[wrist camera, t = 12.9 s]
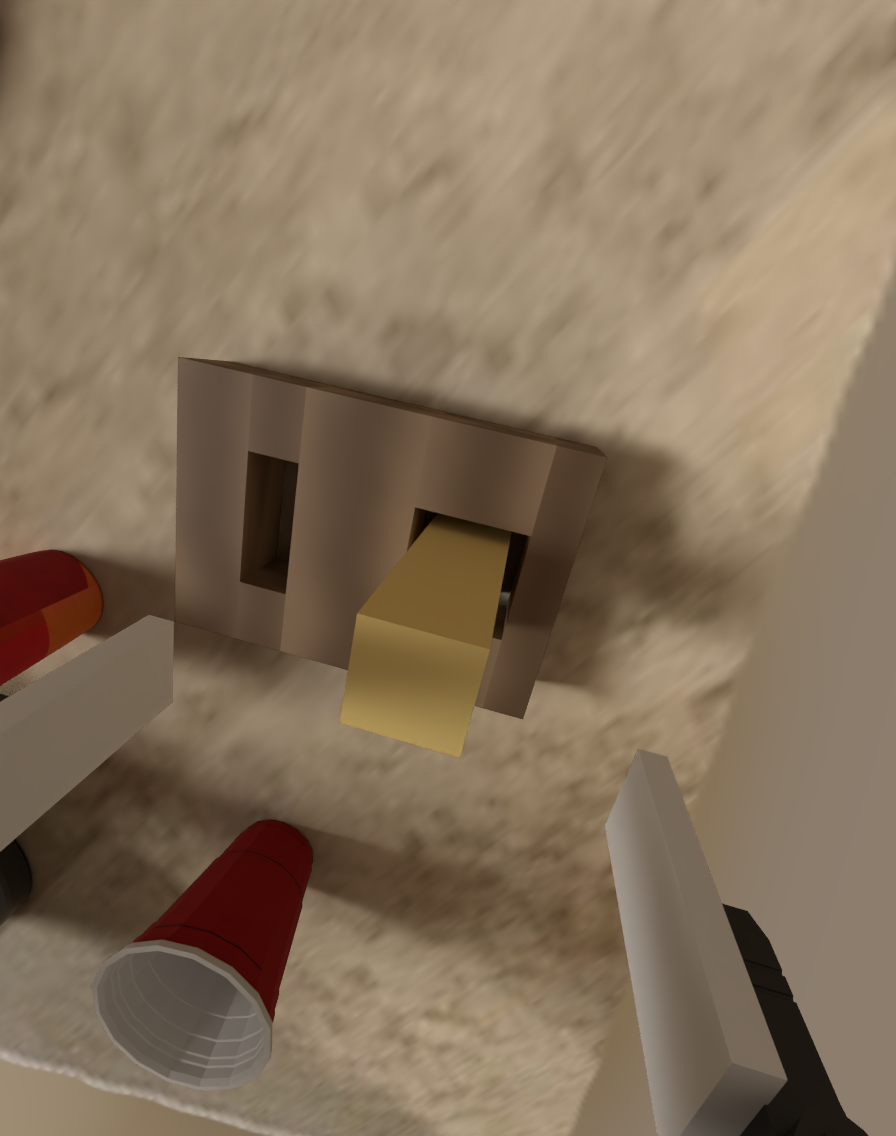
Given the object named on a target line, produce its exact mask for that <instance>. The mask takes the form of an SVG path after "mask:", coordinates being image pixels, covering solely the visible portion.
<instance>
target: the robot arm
mask: <svg viewBox="0 0 896 1136" xmlns="http://www.w3.org/2000/svg"><path fill="white" fill-rule="evenodd" d="M173 649H174V622H173V621H170V620H166V619H162V618H159V617H155V616H152V615H147V616H146V617H144V618H142V619H141V620H139V621H137V622H136V623H134V624H132V625H130V626H129V627H127V628H125V629H124V630H122V631H120V632H118V633H117V634H115V635H113V636H112V637H110V638H108V639H107V640H105V641H103V642H101V643H100V644H98V645H96V646H95V647H93V648H91V649H89V650H88V651H86V652H84V653H83V654H81V655H79V656H78V657H76V658H74V659H72V660H71V661H69V662H67V663H66V664H64V665H62V666H60V667H59V668H57V669H55V670H54V671H52V672H50V673H48V674H47V675H45V676H43V677H42V678H40V679H38V680H37V681H35V682H33V683H31V684H30V685H28V686H26V687H25V688H23V689H21V690H19V691H18V692H16V693H14V694H13V695H11V696H6V695H3V694H0V926H1V925H2V924H3V923H4V922H5V921H6V920H7V919H8V918H9V917H10V916H11V915H12V914H13V913H14V912H15V911H16V910H17V909H18V908H19V907H20V906H21V905H22V904H23V903H24V902H25V901H26V899H27V897H28V895H29V892H30V886H31V880H30V873H29V869H28V866H27V863H26V861H25V859H24V857H23V855H22V853H21V851H20V850H19V848H18V846H17V845H16V843H15V842H14V841H13V840H14V839H15V838H17V837H18V836H19V835H20V834H21V833H22V832H23V831H25V830H26V829H27V828H28V827H29V826H30V825H32V824H33V823H34V822H35V821H36V820H37V819H38V818H40V817H41V816H42V815H43V814H44V813H45V812H46V811H48V810H49V809H50V808H51V807H52V806H53V805H55V804H56V803H57V802H58V801H59V800H60V799H61V798H63V797H64V796H65V795H66V794H67V793H68V792H70V791H71V790H72V789H73V788H74V787H75V786H76V785H78V784H79V783H80V782H81V781H82V780H83V779H84V778H86V777H87V776H88V775H89V774H90V773H91V772H93V771H94V770H95V769H96V768H97V767H98V766H99V765H101V764H102V763H103V762H104V761H105V760H106V759H108V758H109V757H110V756H111V755H112V754H113V753H114V752H116V751H117V750H118V749H119V748H120V747H121V746H122V745H124V744H125V743H126V742H127V741H128V740H129V739H131V738H132V737H133V736H134V735H135V734H136V733H137V732H139V731H140V730H141V729H142V728H143V727H144V726H146V725H147V724H148V723H149V722H150V721H151V720H152V719H154V718H155V717H156V716H157V715H158V714H159V713H160V712H162V711H163V710H164V709H165V708H166V707H167V706H169V705H170V704H171V703H172V702H173ZM605 830H606V835H607V841H608V847H609V853H610V859H611V865H612V871H613V877H614V882H615V888H616V894H617V900H618V906H619V912H620V918H621V924H622V930H623V935H624V941H625V947H626V953H627V959H628V965H629V971H630V977H631V982H632V988H633V994H634V1000H635V1005H636V1011H637V1018H638V1023H639V1029H640V1035H641V1041H642V1047H643V1053H644V1059H645V1064H646V1071H647V1076H648V1082H649V1088H650V1093H651V1100H652V1105H653V1111H654V1117H655V1124H656V1129H657V1135H658V1136H868V1135H867V1134H866V1133H865V1131H864V1130H862V1129H861V1128H860V1127H858V1126H857V1125H856V1124H855V1123H854V1122H852V1121H851V1120H850V1119H848V1118H847V1117H846V1114H845V1112H844V1111H843V1109H842V1107H841V1105H840V1103H839V1101H838V1098H837V1096H836V1094H835V1091H834V1089H833V1087H832V1084H831V1082H830V1080H829V1077H828V1075H827V1073H826V1070H825V1068H824V1066H823V1063H822V1061H821V1059H820V1057H819V1054H818V1052H817V1050H816V1047H815V1045H814V1043H813V1040H812V1038H811V1036H810V1034H809V1031H808V1029H807V1027H806V1024H805V1022H804V1020H803V1017H802V1015H801V1013H800V1010H799V1008H798V1006H797V1003H795V1002H793V994H792V992H791V990H790V987H789V985H788V983H787V980H786V978H785V977H784V976H782V969H781V967H780V964H779V962H778V960H777V957H776V955H775V953H774V950H773V948H772V946H771V944H770V941H769V939H768V938H767V937H766V935H765V934H764V933H763V931H762V930H761V929H760V927H759V926H758V925H757V924H756V922H755V921H754V919H753V918H752V917H751V915H750V914H749V913H748V911H745V910H742V909H738V908H735V907H732V906H728V905H725V904H722V902H721V900H720V897H719V894H718V892H717V889H716V886H715V884H714V881H713V878H712V876H711V873H710V870H709V868H708V865H707V862H706V860H705V857H704V854H703V851H702V849H701V846H700V844H699V841H698V838H697V835H696V833H695V830H694V827H693V825H692V822H691V819H690V817H689V814H688V811H687V809H686V806H685V803H684V800H683V798H682V795H681V792H680V790H679V787H678V784H677V782H676V779H675V776H674V774H673V771H672V768H671V766H670V763H669V760H668V758H667V757H666V756H662V755H659V754H655V753H651V752H648V751H644V750H640V749H638V750H637V753H636V755H635V757H634V760H633V762H632V764H631V766H630V769H629V771H628V773H627V776H626V778H625V780H624V783H623V785H622V787H621V790H620V792H619V794H618V797H617V799H616V801H615V803H614V806H613V808H612V810H611V813H610V815H609V817H608V820H607V822H606V824H605Z"/></svg>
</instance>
